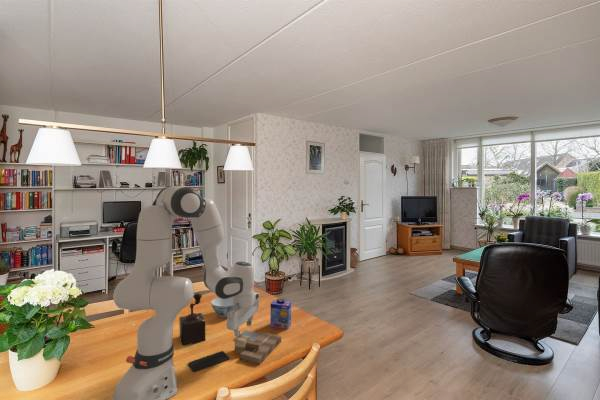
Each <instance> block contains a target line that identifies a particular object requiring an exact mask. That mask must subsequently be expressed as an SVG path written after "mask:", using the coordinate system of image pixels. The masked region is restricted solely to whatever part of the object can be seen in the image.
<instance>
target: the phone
mask: <svg viewBox="0 0 600 400" xmlns="http://www.w3.org/2000/svg"><path fill="white" fill-rule="evenodd" d="M229 360H230V357H229V356H228V354H226V352H225V351H222V350H221V351H218V352H215V353H212V354H209V355H206V356H203V357H200V358H197V359H194V360H191V361H189V362H188V363H187V365H188V367H189V368H190V371H191V372H193V373H196V372H199V371H201V370H205V369H208V368H210V367H213V366H215V365H219V364H222V363H224V362H227V361H229Z"/></svg>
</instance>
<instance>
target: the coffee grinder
mask: <svg viewBox="0 0 600 400" xmlns="http://www.w3.org/2000/svg"><path fill="white" fill-rule="evenodd" d="M202 297H203V295H202V293H200V292H198V293H194V295H193V299H194V301H195V302H194V303H193V302H190V303H189V304H190V305H189V309H190V314H187V315H183V316H182V315H181V316H179V320H178V321H179V323H178V324H179V340H180V344H181V346H187V345H189V346H190V345H193V344H197V343H202V342H206V341H207V340H206V335H207V334H206V319H205V318H204V316H203V313H202V312H199V313H196V312H194V306H196V305H199V304H201V302H202V301H201V299H202Z"/></svg>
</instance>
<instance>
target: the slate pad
mask: <svg viewBox="0 0 600 400" xmlns="http://www.w3.org/2000/svg"><path fill="white" fill-rule="evenodd" d="M240 334H241V335H245V336H250V341H253V342H254V341H255V340H256V339H257V338H258V337H260V336H261V335H262V334H263V333H259V332H254V331H249V330H244V331H242V332H240ZM232 341H233V342H235V338H234V339H233V340H232Z"/></svg>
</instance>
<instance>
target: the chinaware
mask: <svg viewBox="0 0 600 400" xmlns="http://www.w3.org/2000/svg"><path fill="white" fill-rule="evenodd" d="M210 304H211V307H212V310H213V311H214V312H215V313H216V314H217V315H218V316H219V317H220V318H227V316H228V312H229V311H230V310H231V308H232V307H233V306H234V305H233V297H230V298H227V299H222V298H219V297H218V296H217V297H216V298H214V299H212V300H211V303H210Z"/></svg>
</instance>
